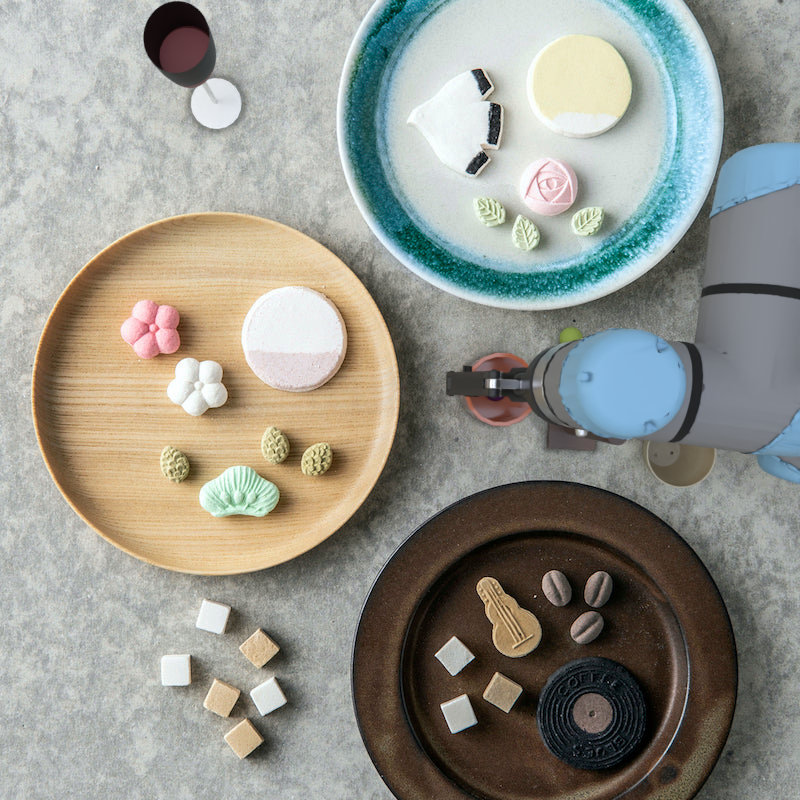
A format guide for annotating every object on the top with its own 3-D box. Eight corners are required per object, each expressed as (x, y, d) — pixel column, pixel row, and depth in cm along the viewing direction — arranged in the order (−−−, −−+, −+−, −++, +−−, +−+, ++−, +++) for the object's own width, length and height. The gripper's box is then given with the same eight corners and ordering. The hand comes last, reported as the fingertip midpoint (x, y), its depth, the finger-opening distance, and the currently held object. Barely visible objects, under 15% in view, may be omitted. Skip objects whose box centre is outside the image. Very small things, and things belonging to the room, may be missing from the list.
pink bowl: (528, 357, 108) (539, 354, 100) (525, 424, 108) (536, 427, 100) (460, 354, 108) (466, 351, 100) (458, 422, 108) (463, 424, 100)
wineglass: (248, 81, 107) (216, 9, 87) (235, 138, 107) (200, 79, 87) (196, 68, 106) (152, -7, 86) (183, 125, 106) (136, 64, 86)
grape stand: (595, 403, 108) (647, 406, 86) (593, 449, 108) (645, 464, 86) (549, 401, 108) (589, 404, 86) (547, 448, 108) (587, 462, 86)
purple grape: (505, 378, 107) (509, 378, 104) (504, 401, 107) (508, 401, 104) (482, 377, 107) (486, 377, 104) (481, 400, 107) (485, 400, 104)
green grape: (579, 328, 108) (585, 326, 104) (578, 351, 108) (585, 349, 104) (557, 327, 108) (562, 325, 104) (556, 350, 108) (561, 348, 104)
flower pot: (687, 487, 108) (709, 494, 101) (623, 474, 108) (640, 480, 101) (701, 423, 108) (723, 425, 101) (637, 410, 108) (654, 411, 101)
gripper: (429, 423, 62) (419, 415, 83) (714, 432, 63) (632, 421, 84) (432, 337, 62) (421, 351, 83) (717, 346, 63) (634, 357, 84)
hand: (527, 386), depth 84 cm, fingers open, 13 cm apart
